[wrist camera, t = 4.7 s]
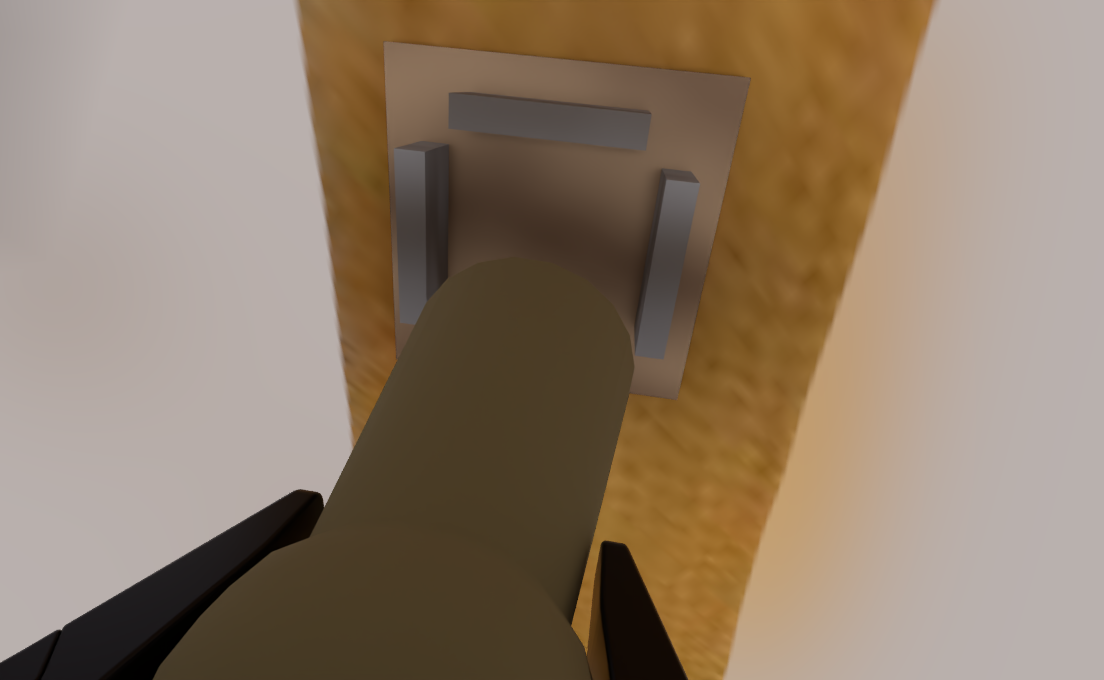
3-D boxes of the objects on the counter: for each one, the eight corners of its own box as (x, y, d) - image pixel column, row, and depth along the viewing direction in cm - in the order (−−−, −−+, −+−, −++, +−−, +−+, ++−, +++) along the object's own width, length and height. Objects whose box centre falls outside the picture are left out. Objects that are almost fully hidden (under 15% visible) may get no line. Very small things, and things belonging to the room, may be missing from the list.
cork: (430, 448, 16) (133, 1012, 7) (397, 256, 14) (-193, 726, 4) (631, 458, 15) (636, 1118, 6) (638, 257, 13) (666, 850, 3)
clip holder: (675, 390, 23) (682, 435, 20) (403, 350, 24) (371, 388, 21) (746, 78, 18) (769, 76, 15) (392, 42, 18) (348, 34, 16)
